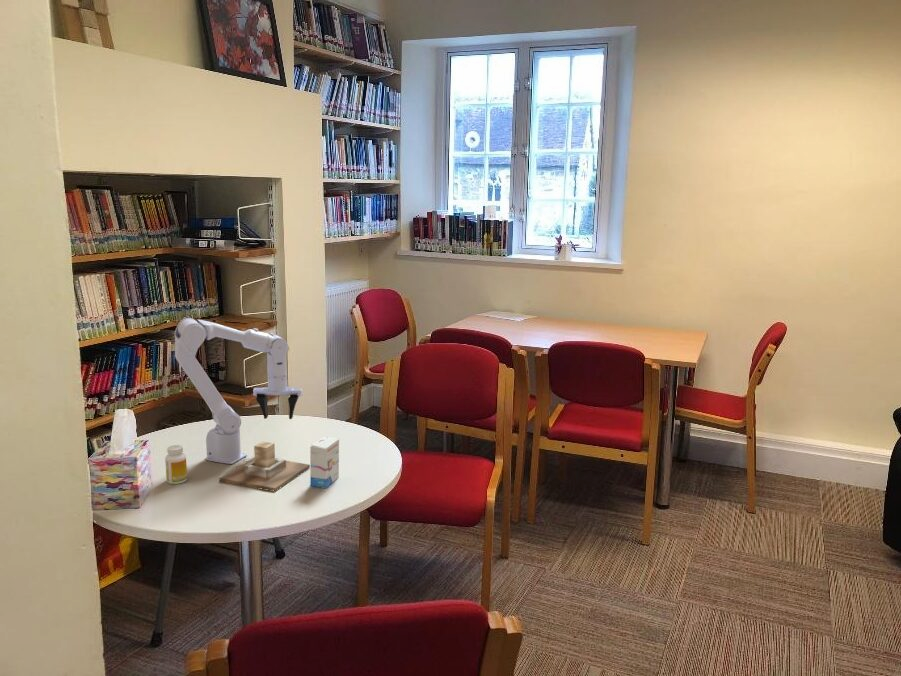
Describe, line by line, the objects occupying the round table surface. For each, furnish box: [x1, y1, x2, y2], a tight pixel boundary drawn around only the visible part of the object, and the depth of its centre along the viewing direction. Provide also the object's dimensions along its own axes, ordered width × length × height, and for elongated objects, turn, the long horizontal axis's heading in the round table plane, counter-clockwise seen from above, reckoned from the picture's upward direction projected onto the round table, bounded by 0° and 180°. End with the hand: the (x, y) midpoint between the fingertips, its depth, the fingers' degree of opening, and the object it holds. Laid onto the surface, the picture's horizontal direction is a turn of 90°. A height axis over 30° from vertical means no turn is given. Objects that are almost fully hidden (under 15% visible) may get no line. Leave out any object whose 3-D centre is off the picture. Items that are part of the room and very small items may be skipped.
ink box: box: [309, 436, 340, 489], centre depth 204 cm, size 9×5×12 cm, turn 163°
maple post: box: [253, 441, 276, 468], centre depth 208 cm, size 4×4×8 cm
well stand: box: [218, 456, 310, 492], centre depth 209 cm, size 18×18×4 cm
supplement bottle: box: [164, 444, 188, 485], centre depth 203 cm, size 5×5×10 cm
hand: (278, 417), depth 226 cm, fingers open, 7 cm apart
